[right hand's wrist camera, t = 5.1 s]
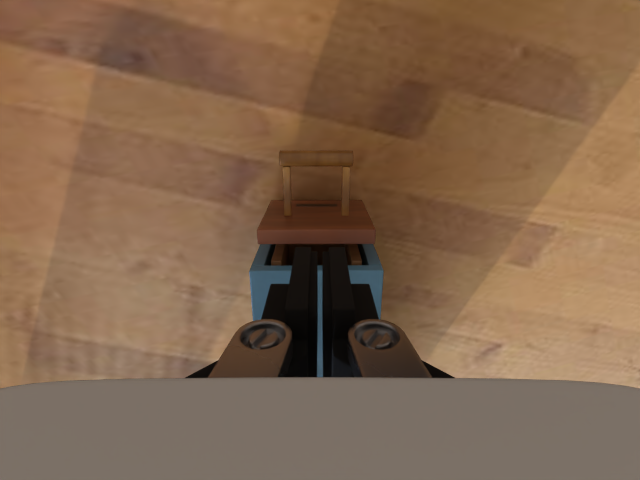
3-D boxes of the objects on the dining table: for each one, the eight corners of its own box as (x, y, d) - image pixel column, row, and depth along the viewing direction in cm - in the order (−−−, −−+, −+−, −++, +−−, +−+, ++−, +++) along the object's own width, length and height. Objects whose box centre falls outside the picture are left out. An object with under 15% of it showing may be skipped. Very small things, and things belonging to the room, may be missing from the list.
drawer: (268, 144, 33) (251, 157, 25) (364, 144, 33) (380, 157, 25) (276, 309, 39) (265, 364, 31) (357, 309, 39) (368, 363, 31)
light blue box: (267, 225, 37) (248, 270, 27) (365, 224, 37) (383, 270, 27) (273, 336, 42) (259, 410, 32) (360, 335, 42) (374, 409, 32)
